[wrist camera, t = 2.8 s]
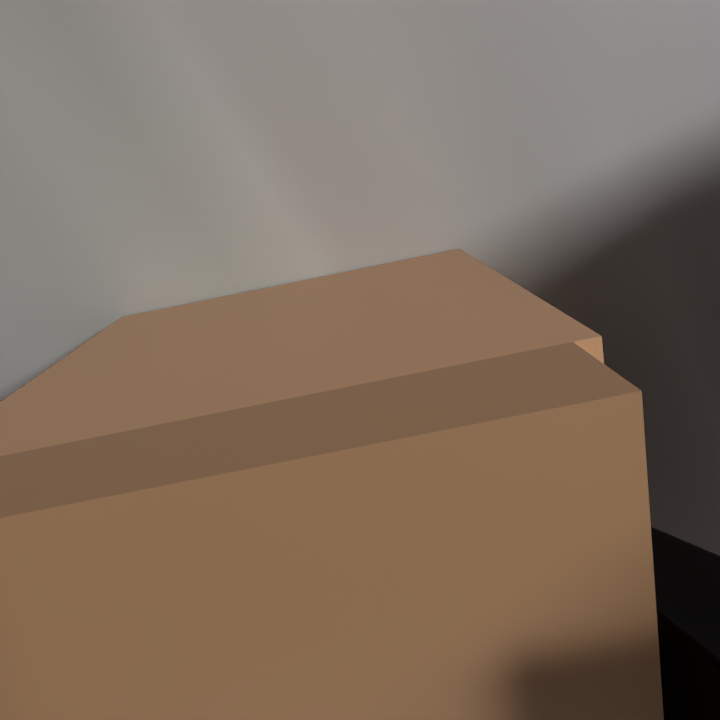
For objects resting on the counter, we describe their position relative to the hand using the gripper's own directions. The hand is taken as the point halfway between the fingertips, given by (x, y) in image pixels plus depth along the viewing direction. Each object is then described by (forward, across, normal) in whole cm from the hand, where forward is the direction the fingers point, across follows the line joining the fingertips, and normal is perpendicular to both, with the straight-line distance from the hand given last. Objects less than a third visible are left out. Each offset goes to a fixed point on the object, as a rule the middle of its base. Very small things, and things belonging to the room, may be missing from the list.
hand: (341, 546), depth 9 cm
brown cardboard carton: (+1, 0, 0) cm, 1 cm away
